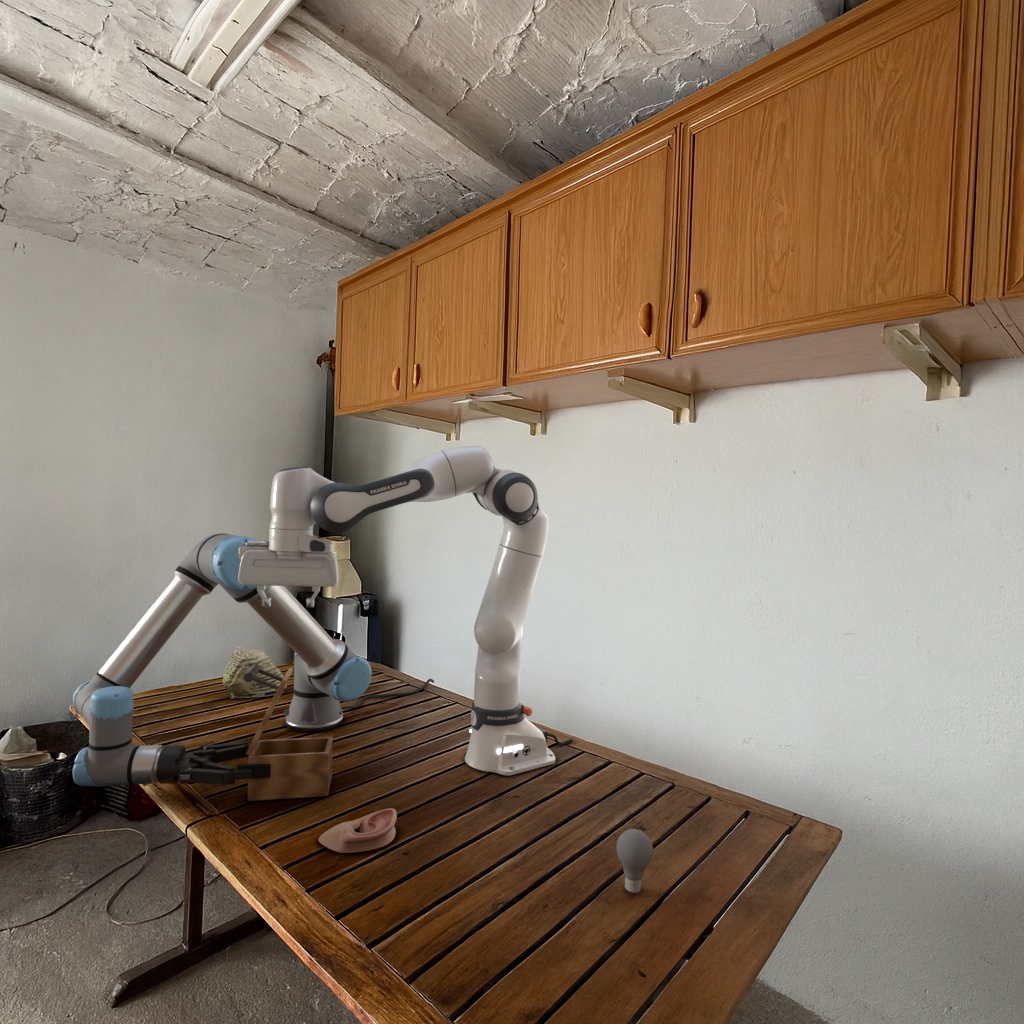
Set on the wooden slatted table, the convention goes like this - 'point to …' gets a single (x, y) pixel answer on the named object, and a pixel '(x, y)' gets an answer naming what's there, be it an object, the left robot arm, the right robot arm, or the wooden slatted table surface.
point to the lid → (251, 676)
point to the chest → (292, 768)
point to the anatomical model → (362, 833)
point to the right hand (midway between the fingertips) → (288, 606)
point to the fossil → (240, 665)
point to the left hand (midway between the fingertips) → (274, 760)
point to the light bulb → (634, 857)
